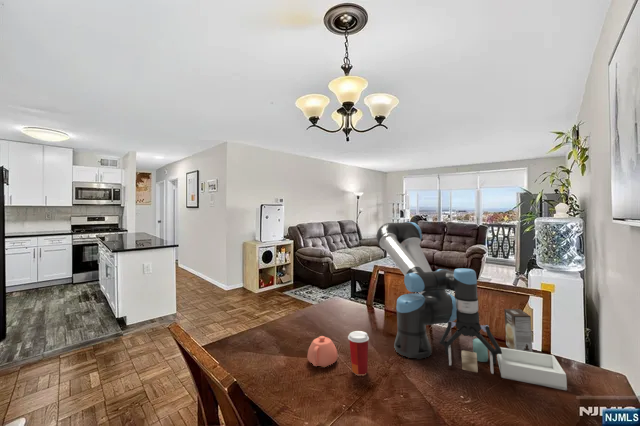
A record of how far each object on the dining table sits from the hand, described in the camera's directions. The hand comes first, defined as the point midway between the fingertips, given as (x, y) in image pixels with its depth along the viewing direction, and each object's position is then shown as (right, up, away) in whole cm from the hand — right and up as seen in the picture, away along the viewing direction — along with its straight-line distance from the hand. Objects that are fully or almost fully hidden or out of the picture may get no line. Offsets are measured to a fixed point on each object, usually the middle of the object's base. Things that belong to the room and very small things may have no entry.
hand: (470, 367), depth 102 cm
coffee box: (+27, 0, +12) cm, 30 cm away
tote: (+18, +1, -5) cm, 19 cm away
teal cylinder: (+8, 0, +6) cm, 10 cm away
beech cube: (0, 0, 0) cm, 0 cm away
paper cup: (-42, -2, 0) cm, 42 cm away
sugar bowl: (-56, -3, +7) cm, 56 cm away
